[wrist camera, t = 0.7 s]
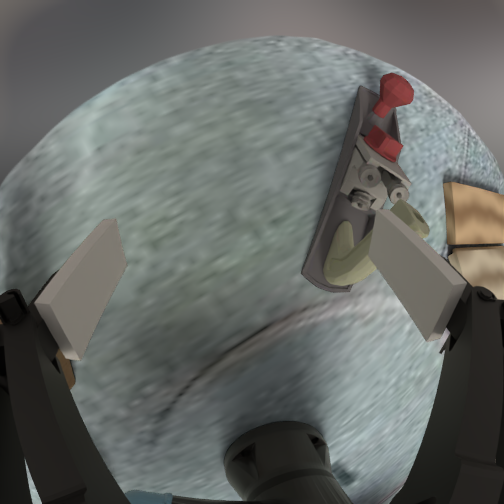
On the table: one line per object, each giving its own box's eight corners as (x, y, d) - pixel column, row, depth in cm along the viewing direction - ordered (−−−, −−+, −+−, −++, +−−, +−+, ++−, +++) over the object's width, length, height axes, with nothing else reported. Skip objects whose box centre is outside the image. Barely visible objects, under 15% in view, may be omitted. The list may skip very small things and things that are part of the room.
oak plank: (501, 243, 41) (508, 243, 39) (447, 244, 37) (455, 244, 35) (498, 196, 41) (505, 195, 39) (443, 183, 37) (451, 181, 35)
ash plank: (516, 305, 36) (523, 302, 35) (465, 327, 32) (474, 324, 31) (500, 248, 41) (507, 244, 40) (446, 251, 37) (454, 246, 36)
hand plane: (297, 279, 33) (367, 303, 18) (359, 82, 34) (417, 30, 20) (344, 297, 34) (426, 324, 19) (395, 105, 36) (458, 65, 21)
